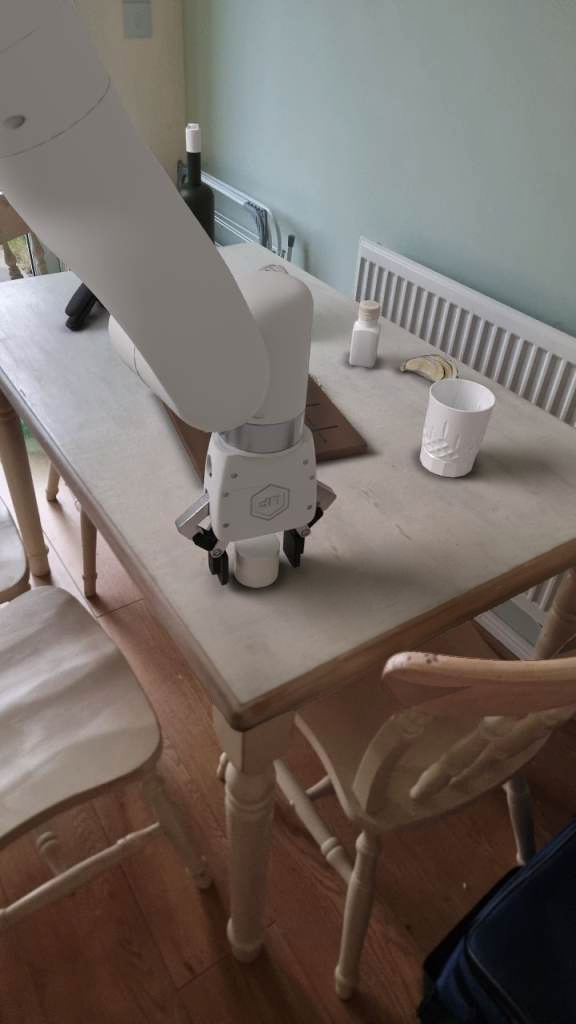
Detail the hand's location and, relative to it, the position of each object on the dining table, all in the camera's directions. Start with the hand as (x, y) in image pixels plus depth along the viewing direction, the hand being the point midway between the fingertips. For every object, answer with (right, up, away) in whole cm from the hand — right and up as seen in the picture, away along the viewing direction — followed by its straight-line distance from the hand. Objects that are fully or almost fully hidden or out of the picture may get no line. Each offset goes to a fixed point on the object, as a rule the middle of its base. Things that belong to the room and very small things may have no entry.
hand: (256, 566), depth 72 cm
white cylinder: (0, -1, 0) cm, 1 cm away
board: (-1, +18, +23) cm, 29 cm away
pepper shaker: (+15, +29, +38) cm, 50 cm away
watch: (+1, +36, +45) cm, 57 cm away
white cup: (+24, +12, +18) cm, 32 cm away
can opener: (-30, +40, +48) cm, 69 cm away
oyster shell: (+25, +25, +34) cm, 49 cm away
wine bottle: (-12, +37, +46) cm, 60 cm away
